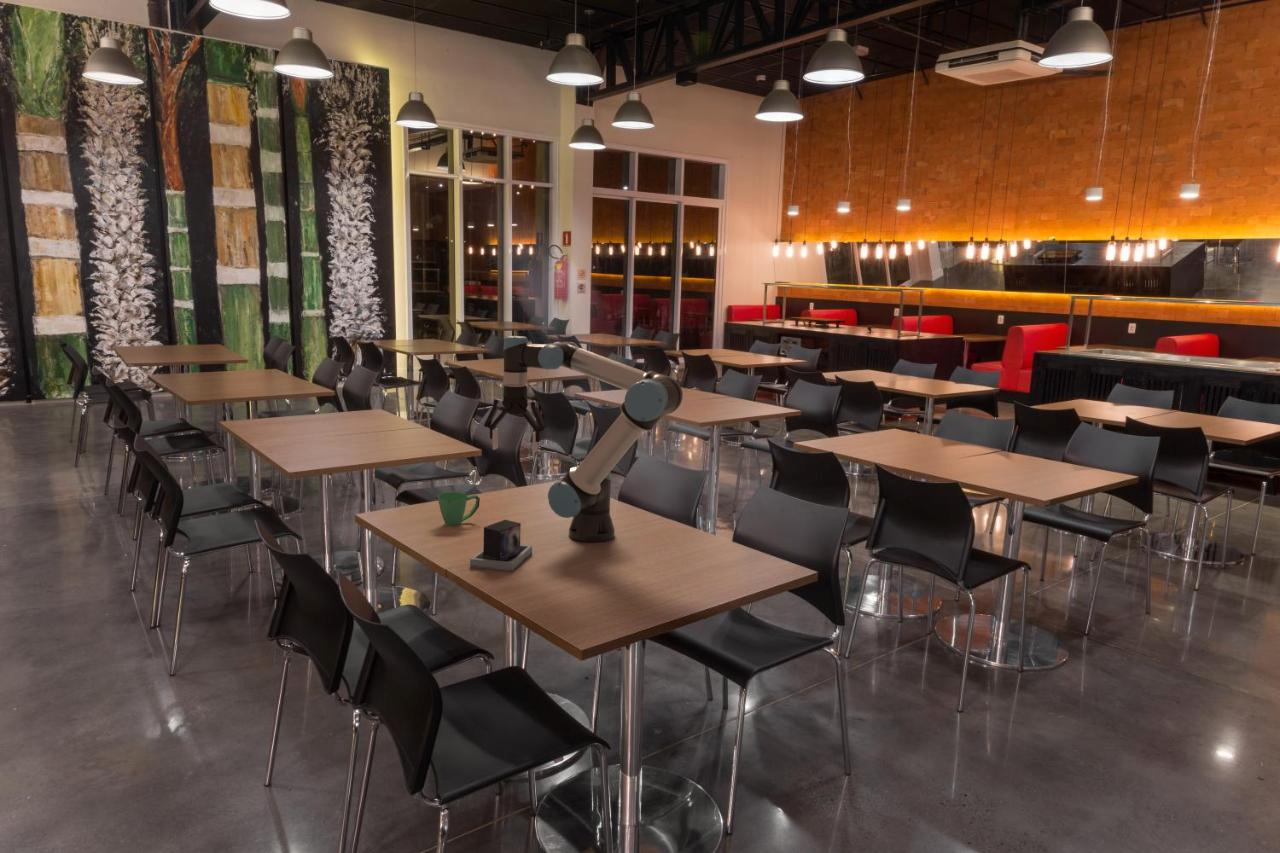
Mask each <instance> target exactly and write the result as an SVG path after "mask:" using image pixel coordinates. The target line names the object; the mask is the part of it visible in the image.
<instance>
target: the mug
mask: <svg viewBox="0 0 1280 853" xmlns="http://www.w3.org/2000/svg"><path fill="white" fill-rule="evenodd" d="M473 499H474V500H475V503H474V506H473V507H472V509H471V510H470V511H469V512H468V513H467V514H465V511H466V506H467V502H468V501H471V500H473ZM480 500H481V498H480V497H479V496H478V495H477V494H470V495H468V494H466V493H464V492H458V491H455V492H444V493H440V494H438V496H437V501H438V505H439V510H440V514H441V516H442V519H443V521H444V524H445V526H447V527H458V526H459V525H461V524H462V523H463V522H464V521H466V520H467V519H469V518H471V517H472V516H473V515H474V514H475V513H476V512H477V510H478V509H479V507H480Z"/></svg>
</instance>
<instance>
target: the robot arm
mask: <svg viewBox="0 0 1280 853" xmlns="http://www.w3.org/2000/svg"><path fill="white" fill-rule="evenodd" d="M502 350H503V351H502V352H503V380H502V382H503V384H504V385H503V393H502V394H503V398H502V399H501V398H499V397H497V398H495V399H494V400H493V406H492V407H491V410H490V412H489V414H488V416H487V418H486V420H485V423H484V424H483V426H484V427H485V428H488V429H489V438H490V439H491V440H492V450H493V451H495V450H497V449H499V428H496V427H497V426H498V425H499V424H500V423H501V422H502V421H503V419H504V418H505V417H506V416H507V415H508V414H509V415H514V414H515V415H521V416H523V417H524V419H525V420H526V421H527V423H528V424H529V425H530V426H531V428H532V429H533V430H534V431H533V432H532V453H534V454H535V453H537V452H539V448H538V447H539V443H540V442H541V437H542V436H541V435H542V433H541V432H543V431H546V430H547V425H546V423H545V421H544V419H543V417H542V415H541V412H540V410H539V408H538V402H537V400H533V401H529V400H528V386H527V384H528V368H534V369H542V370H543V369H544V370H546V371H547V370H548V371H549V370H558V369H560V367H564V368H566V369H569V370H572V371H574V372H578V373H580V374H583V375H584V376H588V377H591V378H593V379H594V380H595V379H596V380H598V381H601V382H602V383H606V384H609V385H611V386H614V387H615V388H619V389H621V390H624V391H626V393H625V396H624V401H623V402H622V404H621V405H620V411H621V412H620V414H619V416H618V417H617V418H616V419H615V421H613V422H612V424H611V425H610V427H609V428H608V429H607V431H606V432H605V433H604V434H603V435H602V437H601V438H600V439H599V441H598V442H596V444H595V445H594V447H593V448H592V449H591V450H590V451H589V452H588V454H587V455H586V456H585V458H584V459H583V460H582V461H581V462H580V464H579V465H578V466H575V465H574V466H571V467H570V469H569V470H568V471H567V472H566V474H565V475H564V476H563V477H562V478H561V479H560V481H556V482H555V483H553V484H552V485H551V486H550V487H549V490H548V493H547V500H548V504H549V506H550V508H551V510H552V511H553V513H555V515H557V516H559V517H561V518H564V519H565V518H566V519H569V518H572V520H571V522H570V525H569V527H568V528H569V529H568V536H569V538H570V539H572V540H575V541H578V542H583V543H600V542H601V543H602V542H606V541H609V540H612V539H614V538H615V534H616V533H615V532H616V531H615V526H614V523H613V520H612V517H611V489H612V488H611V485H612V484H611V482H612V478H611V472H612V470H613V469H614V468H615V466H616V465H617V464H618V463H619V462H620V460H621V459H622V458H623V457H624V455H626V453H627V452H628V451H629V449H630V448H631V447H633V444H635V442H637V440H638V438H640V436H641V435H642V434H643V432H651V431H652V430H653V428H654V427H655V426H656V425H657V423H658V422H660V421H661V419H662V418H663V417H664V416H666V415H670V414H672V413H674V412H675V411H677V409H678V408H679V407H680V405H681V404H682V401H683V397H684V395H683V390H682V387H681V385H680V384H679V382H677V380H676V379H674V378H673V377H671V376H668V375H666V374H662V373H659V372H656V371H653V370H650V371H648V372H647V371H643V370H641V369H638V368H636V367H633V366H629V365H628V364H624V363H622V362H620V361H616V360H614V359H611V358H608V357H605V356H602V355H601V354H597V353H595V352H592V351H589V350H587V349H584V348H582V347H581V348H580V347H579V345H578V344H577V343H575V342H572V341H563V342H554V343H543V344H542V343H540V344H539V343H529V340H528V337H527V336H522V335H520V336H519V335H509V336H508V335H507V336H505V337H504V340H503V349H502ZM501 405H502V407H504V409H502V411H501V412H500V414H499V415H498V416H497V417H496V414H497V412H498V410H499V408H500V406H501ZM528 406H529V408H530V409H531V411H532V414H533V416H534V417H532V415H531V414H530V412H529V410H528V409H527V407H528ZM495 417H496V418H495ZM494 418H495V419H494ZM534 418H535V419H534Z"/></svg>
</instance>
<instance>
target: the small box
mask: <svg viewBox="0 0 1280 853" xmlns="http://www.w3.org/2000/svg"><path fill="white" fill-rule="evenodd" d="M521 525H522V524H521V522H517V521H512V520H509V519H503V520H500V521H497V522H495V523H491V524H489V525H486V526H484V527H483V548H482V550H483V559H487V560H497V561H508V560H511V559H513V558H515V557H517V556H518V555H519V554H520V545H521Z"/></svg>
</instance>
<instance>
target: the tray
mask: <svg viewBox="0 0 1280 853" xmlns="http://www.w3.org/2000/svg"><path fill="white" fill-rule="evenodd" d="M531 555H533V545H525V544H520V554H519V555H518V556H517V557H515V558H513V559H511V560H508V561H497V560H487V559H483V549H482V550H480V551H479V552H477V553H476V554H475V555H474V556H472V557H471V558H470V560H469V565H470V566H469V567H470V568H474V569H483V570H484V569H485V570H493V571H494V570H495V571H503V572H504V571H505V572H511V573H512V572H514V571H515V570H516V569H517V568H518V567H519V566H520V565H522V564H523V563H524V562H525V561H527V559H528V558H529V557H530V556H531Z"/></svg>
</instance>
